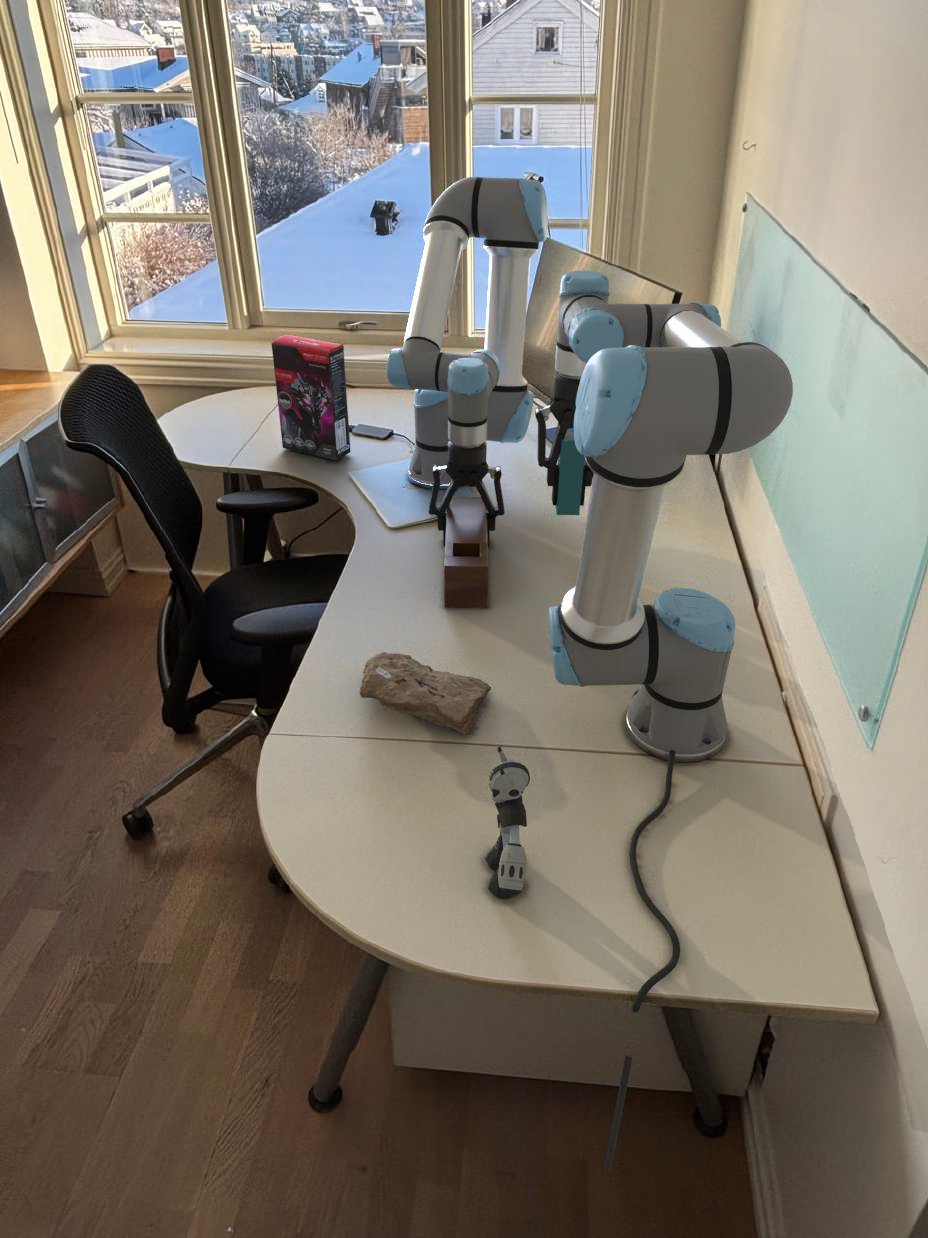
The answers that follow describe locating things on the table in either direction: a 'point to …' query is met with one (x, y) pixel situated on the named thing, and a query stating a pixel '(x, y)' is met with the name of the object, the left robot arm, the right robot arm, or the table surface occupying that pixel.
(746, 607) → the table surface
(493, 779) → the robot
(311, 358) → the graphics card box
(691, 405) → the right robot arm
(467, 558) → the hole block
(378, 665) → the stone
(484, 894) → the table surface
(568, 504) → the peg
